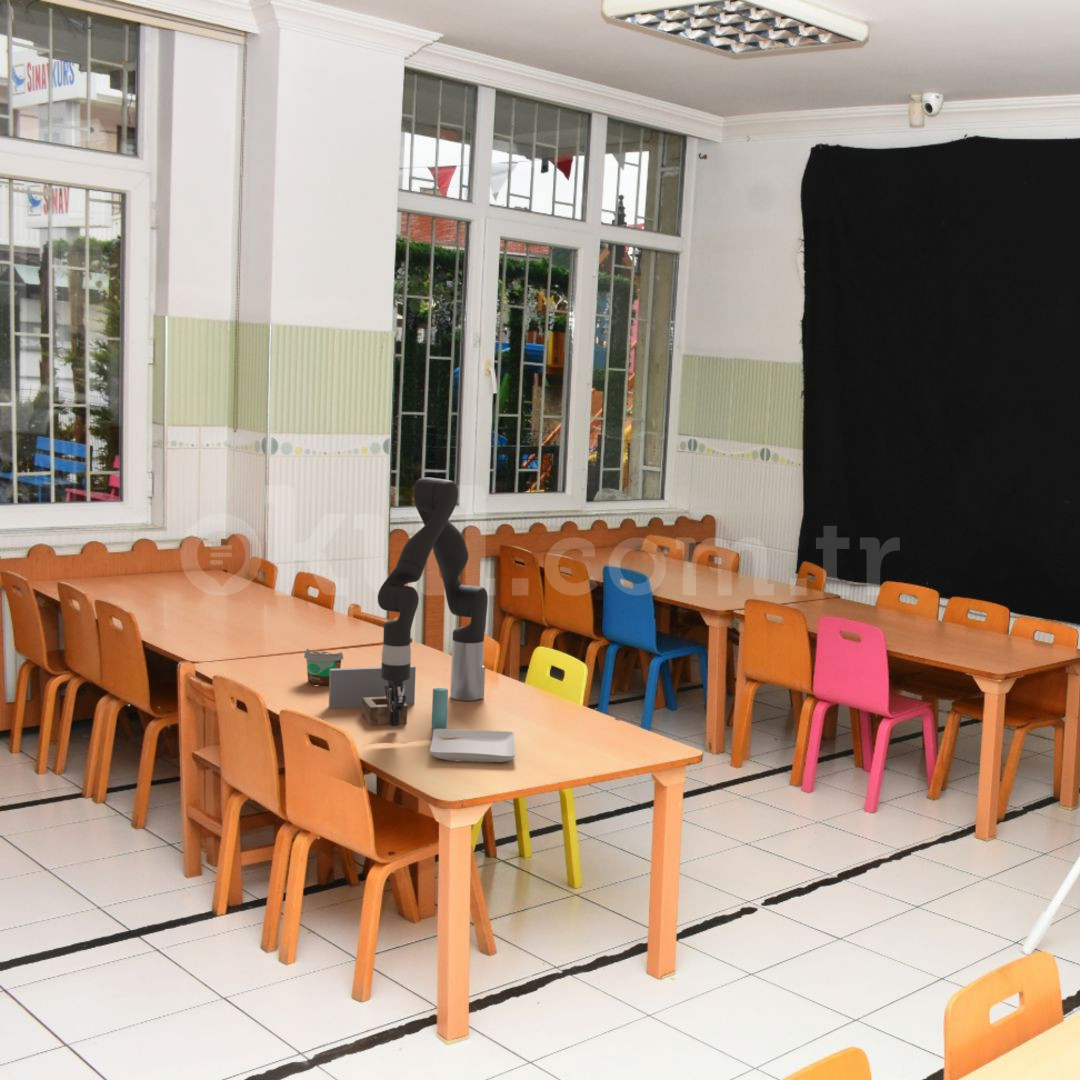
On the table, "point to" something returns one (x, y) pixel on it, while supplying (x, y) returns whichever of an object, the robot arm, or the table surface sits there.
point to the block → (380, 711)
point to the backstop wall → (363, 686)
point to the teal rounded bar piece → (439, 708)
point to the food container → (321, 666)
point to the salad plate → (473, 745)
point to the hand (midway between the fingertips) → (394, 725)
